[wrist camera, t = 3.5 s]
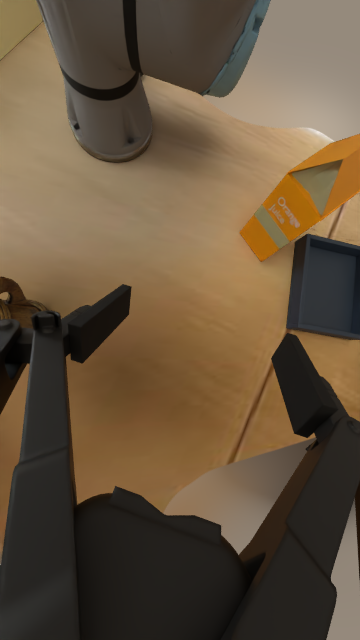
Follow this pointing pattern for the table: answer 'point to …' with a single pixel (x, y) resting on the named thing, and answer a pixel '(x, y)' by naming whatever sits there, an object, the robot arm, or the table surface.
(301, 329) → the tray
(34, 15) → the pale yellow long box
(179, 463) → the table surface
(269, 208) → the orange juice
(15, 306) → the wooden mug
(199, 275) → the table surface
